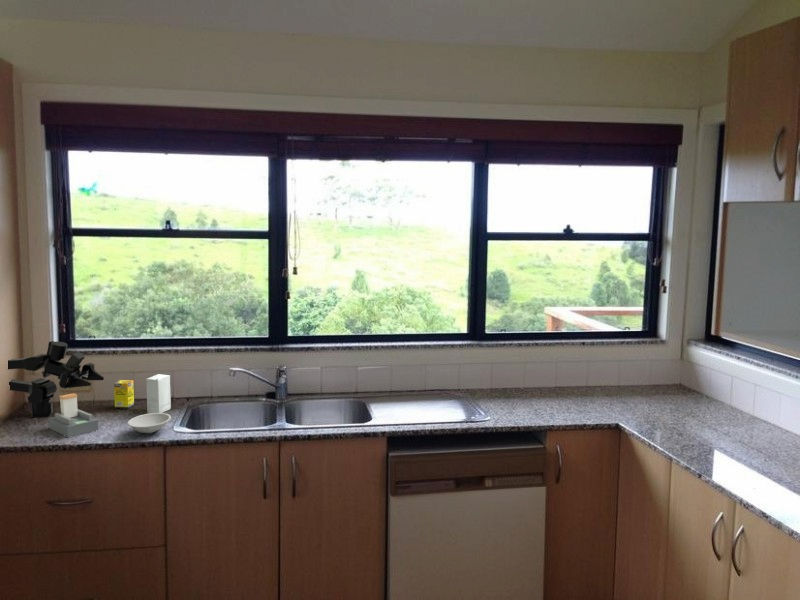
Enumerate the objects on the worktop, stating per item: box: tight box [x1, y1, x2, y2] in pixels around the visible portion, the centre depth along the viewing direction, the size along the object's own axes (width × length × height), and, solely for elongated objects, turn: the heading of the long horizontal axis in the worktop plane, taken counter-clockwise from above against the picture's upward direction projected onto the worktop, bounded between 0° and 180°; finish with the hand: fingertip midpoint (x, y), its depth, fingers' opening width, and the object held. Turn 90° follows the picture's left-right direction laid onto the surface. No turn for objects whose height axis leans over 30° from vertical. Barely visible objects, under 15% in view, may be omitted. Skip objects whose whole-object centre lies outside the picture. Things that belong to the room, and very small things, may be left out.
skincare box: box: [145, 373, 172, 414], centre depth 264 cm, size 8×6×15 cm
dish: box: [127, 412, 172, 434], centre depth 237 cm, size 18×14×5 cm
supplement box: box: [113, 379, 135, 410], centre depth 270 cm, size 6×6×11 cm
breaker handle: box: [59, 392, 78, 418], centre depth 241 cm, size 3×5×8 cm, turn 141°
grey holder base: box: [48, 408, 99, 438], centre depth 240 cm, size 16×11×6 cm
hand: (97, 381), depth 254 cm, fingers open, 9 cm apart
